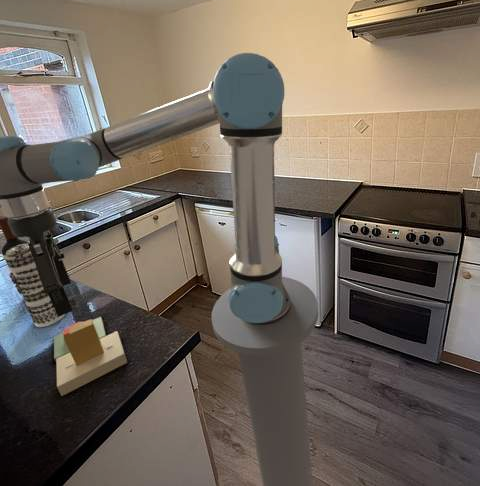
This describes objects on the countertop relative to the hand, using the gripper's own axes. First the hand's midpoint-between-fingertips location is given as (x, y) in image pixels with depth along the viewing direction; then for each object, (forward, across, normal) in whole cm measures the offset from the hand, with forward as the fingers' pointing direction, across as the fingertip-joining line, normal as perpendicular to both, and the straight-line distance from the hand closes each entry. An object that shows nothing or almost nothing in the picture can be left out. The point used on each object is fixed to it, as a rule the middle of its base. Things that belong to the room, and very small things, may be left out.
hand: (65, 297), depth 69 cm
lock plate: (+20, +2, 0) cm, 20 cm away
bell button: (+17, -11, -2) cm, 20 cm away
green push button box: (+20, -11, -2) cm, 23 cm away
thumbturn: (+17, +2, 0) cm, 17 cm away
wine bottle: (+20, -48, -14) cm, 53 cm away
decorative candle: (+20, -29, -9) cm, 36 cm away
